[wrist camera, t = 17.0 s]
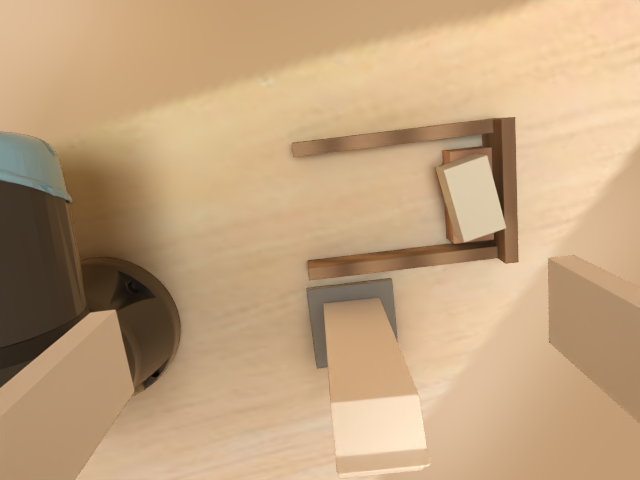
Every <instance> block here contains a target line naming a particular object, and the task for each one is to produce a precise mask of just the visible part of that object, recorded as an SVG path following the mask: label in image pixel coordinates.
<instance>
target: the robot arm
mask: <svg viewBox="0 0 640 480" xmlns="http://www.w3.org/2000/svg"><path fill="white" fill-rule="evenodd" d="M70 204H72V198H71V196H70V195H69V194H68V193H67V190H66V186H65V182H64V177H63V173H62V169H61V164H60V160H59V157H58V155H57V153H56V152H55V150H54V149H53V148H52V147H51V146H50V145H49V144H47V143H46V142H45V141H43V140H41V139H38V138H36V137H33V136H29V135H24V134H18V133H12V132H3V131H0V480H75V479H76V477H77V476H78V475H79V473H80V472H81V470H82V469H83V467H84V466H85V464H86V463H87V461H88V460H89V458H90V457H91V455H92V454H93V452H94V451H95V449H96V448H97V446H98V445H99V443H100V442H101V440H102V439H103V437H104V436H105V434H106V433H107V431H108V430H109V428H110V427H111V425H112V424H113V422H114V421H115V419H116V418H117V416H118V415H119V413H120V412H121V410H122V409H123V407H124V406H125V405H126V403H127V402H128V400H129V399H130V397H132V396H134V395H136V394H138V393H139V392H141V391H143V390H145V389H146V388H148V387H149V386H150V385H152V384H153V383H154V382H155V381H156V380H157V379H158V378H159V377H160V376H161V375H162V374H163V373H164V371H165V370H166V368H167V367H168V365H169V363H170V362H171V360H172V358H173V357H174V355H175V352H176V350H177V347H178V343H179V338H180V321H179V315H178V312H177V308H176V306H175V303H174V301H173V299H172V297H171V296H170V294H169V293H168V291H167V290H166V288H165V287H164V286H163V285H162V284H161V283H160V282H159V281H158V280H157V279H156V278H155V277H154V276H153V275H151V274H150V273H149V272H147V271H146V270H144V269H142V268H141V267H139V266H137V265H134V264H132V263H129V262H127V261H123V260H119V259H114V258H91V259H86V260H82V261H80V257H79V251H78V246H77V240H76V235H75V229H74V224H73V218H72V213H71V207H70ZM548 276H549V277H548V278H549V279H548V284H549V343H550V344H552V345H553V346H554V347H555V348H556V349H557V350H558V351H559V352H561V354H563V355H564V356H565V357H566V358H567V359H568V360H569V361H570V362H572V363H573V364H574V365H575V366H576V367H577V368H578V369H579V370H580V371H582V372H583V373H584V374H585V375H586V376H587V377H588V378H589V379H590V380H592V381H593V382H594V383H595V384H596V385H597V386H598V387H599V388H601V389H602V390H603V391H604V392H605V393H606V394H607V395H608V396H609V397H611V398H612V399H613V400H614V401H615V402H616V403H617V404H618V405H619V406H621V407H622V408H623V409H624V410H625V411H626V412H627V413H628V414H629V415H631V416H632V417H633V418H634V419H635V420H636V421H637V422H638V423H639V424H640V287H639V286H637V285H635V284H633V283H631V282H629V281H627V280H625V279H623V278H621V277H618V276H616V275H614V274H612V273H610V272H608V271H606V270H604V269H602V268H600V267H598V266H595V265H593V264H591V263H589V262H587V261H585V260H583V259H581V258H579V257H577V256H575V255H571V256H561V257H553V258H548Z"/></svg>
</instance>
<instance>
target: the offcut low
mask: <svg viewBox="0 0 640 480" xmlns="http://www.w3.org/2000/svg"><path fill="white" fill-rule="evenodd" d="M473 154H482V155H487V157H488V161H489V165H490V168H491V172H492V147H484V146H480V147H471V148H462V149H453V150H444V151H442V155H443V165H444V164H447V163H450V162H453V161H456V160H459V159H462V158H465V157H467V156H470V155H473ZM492 176H493V174H492ZM445 217H446V238H447V239H449V240H450V241H451V242H452V243H454V244H456V243H465V242H463V241H462V240H461V239H459V238H458V237H457V236H455V233H454V230H453V227H452V223H451V220H450V216H449V213H448V209H447V206H446V203H445ZM493 239H494V233H491V234H488V235H485V236H482V237H479V238H476V239H473V240H470V241H467V242H475V241H484V240H493Z"/></svg>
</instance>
